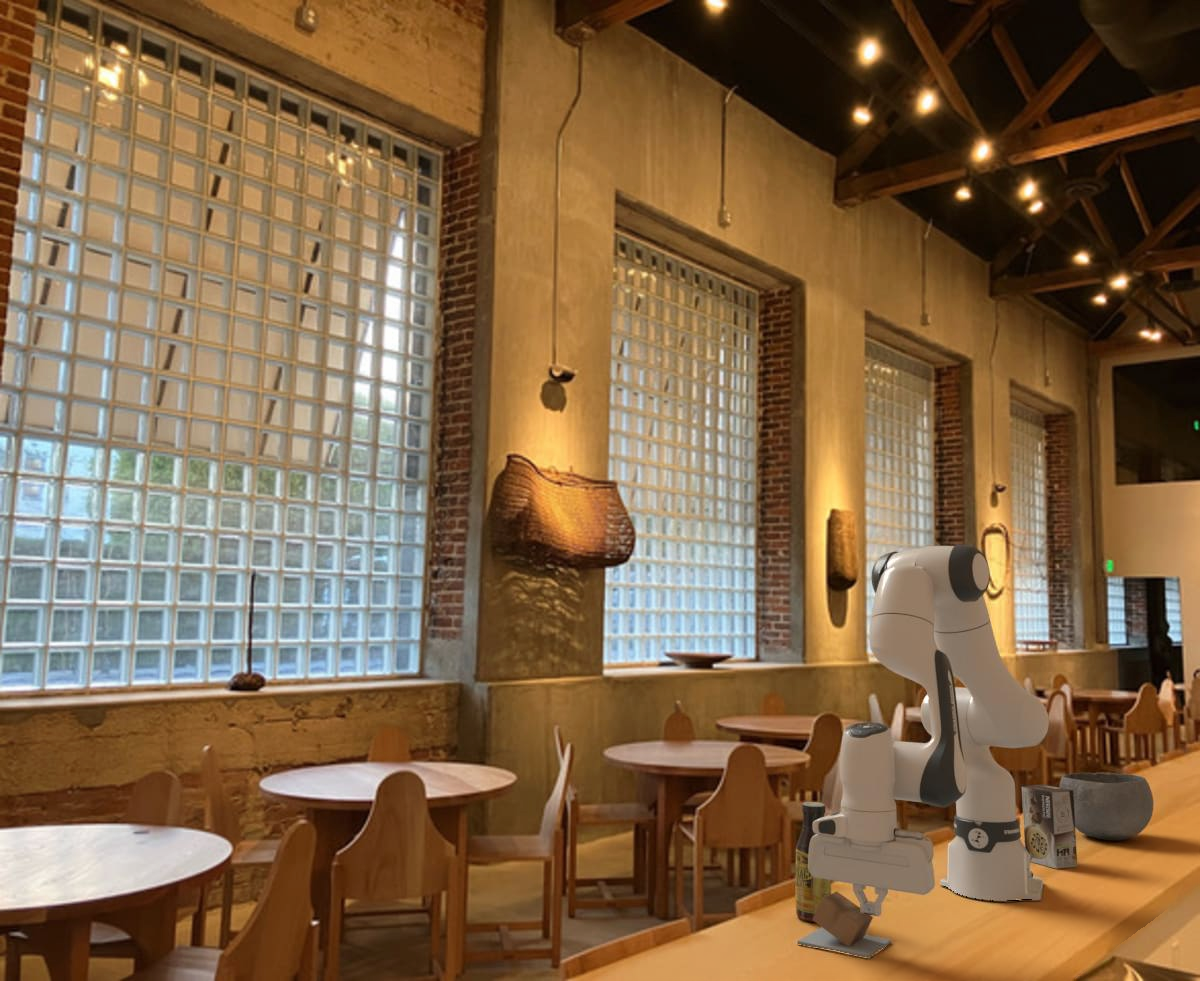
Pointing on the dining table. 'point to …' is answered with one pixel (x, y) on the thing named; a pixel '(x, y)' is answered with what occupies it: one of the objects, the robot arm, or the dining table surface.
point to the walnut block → (842, 918)
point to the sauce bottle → (806, 885)
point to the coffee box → (1049, 825)
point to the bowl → (1110, 804)
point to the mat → (828, 941)
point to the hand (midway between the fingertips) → (870, 914)
